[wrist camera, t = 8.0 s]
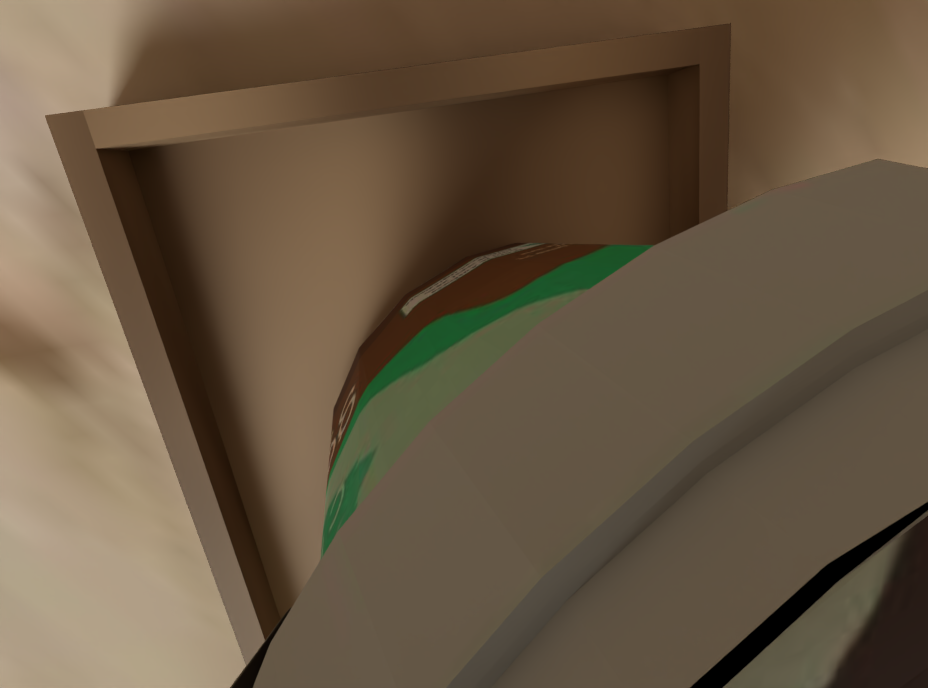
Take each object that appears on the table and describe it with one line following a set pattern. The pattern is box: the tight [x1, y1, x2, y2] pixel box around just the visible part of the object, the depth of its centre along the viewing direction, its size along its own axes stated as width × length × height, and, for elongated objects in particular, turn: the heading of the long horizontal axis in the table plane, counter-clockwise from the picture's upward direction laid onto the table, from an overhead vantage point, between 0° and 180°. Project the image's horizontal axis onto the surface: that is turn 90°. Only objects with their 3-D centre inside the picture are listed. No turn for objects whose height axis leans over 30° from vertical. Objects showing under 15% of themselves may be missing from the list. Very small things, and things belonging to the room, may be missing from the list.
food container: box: [253, 159, 928, 688], centre depth 8 cm, size 12×6×10 cm, turn 8°
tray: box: [45, 24, 731, 666], centre depth 13 cm, size 12×16×2 cm
